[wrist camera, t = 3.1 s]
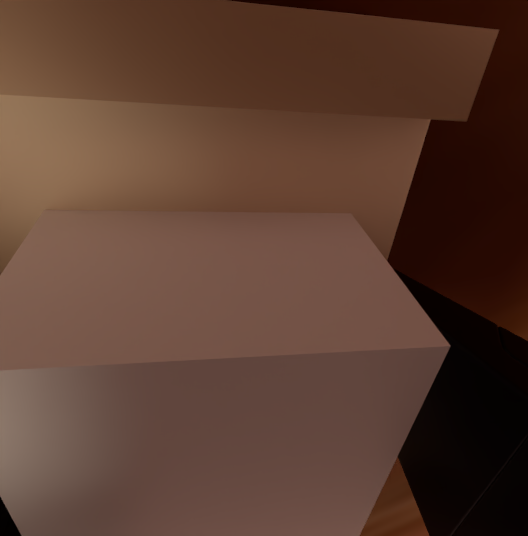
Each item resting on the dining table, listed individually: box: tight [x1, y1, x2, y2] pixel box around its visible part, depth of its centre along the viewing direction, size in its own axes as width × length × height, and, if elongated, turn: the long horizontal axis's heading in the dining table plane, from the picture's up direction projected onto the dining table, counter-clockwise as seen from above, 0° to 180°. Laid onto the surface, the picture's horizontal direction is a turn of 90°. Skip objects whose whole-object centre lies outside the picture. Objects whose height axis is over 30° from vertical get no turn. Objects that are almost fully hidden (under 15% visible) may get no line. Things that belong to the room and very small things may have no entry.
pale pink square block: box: [0, 210, 450, 536], centre depth 6 cm, size 5×5×3 cm
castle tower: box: [0, 0, 499, 275], centre depth 8 cm, size 10×6×4 cm, turn 175°
